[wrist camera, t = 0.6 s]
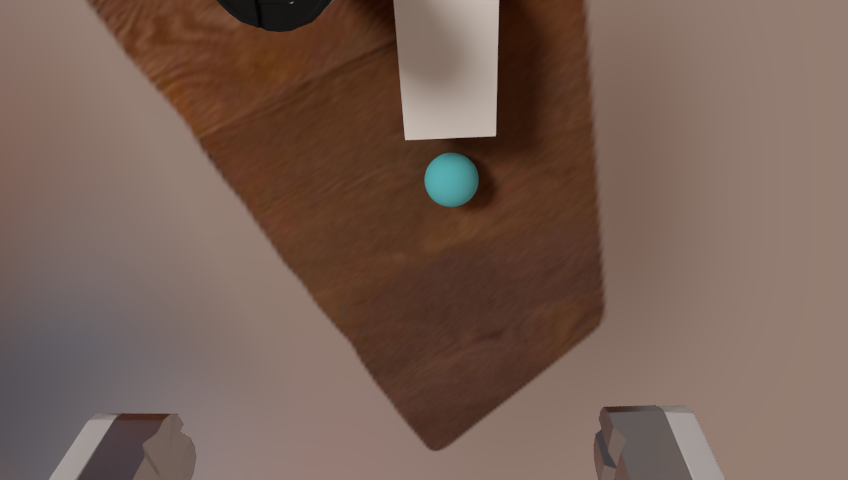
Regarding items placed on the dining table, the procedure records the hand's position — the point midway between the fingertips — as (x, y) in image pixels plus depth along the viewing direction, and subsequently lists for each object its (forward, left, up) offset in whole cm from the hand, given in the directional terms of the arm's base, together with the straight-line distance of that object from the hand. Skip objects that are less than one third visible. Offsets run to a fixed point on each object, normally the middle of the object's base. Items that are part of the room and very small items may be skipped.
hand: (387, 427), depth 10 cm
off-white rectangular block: (+2, +1, -39) cm, 39 cm away
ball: (+14, +1, -37) cm, 39 cm away
